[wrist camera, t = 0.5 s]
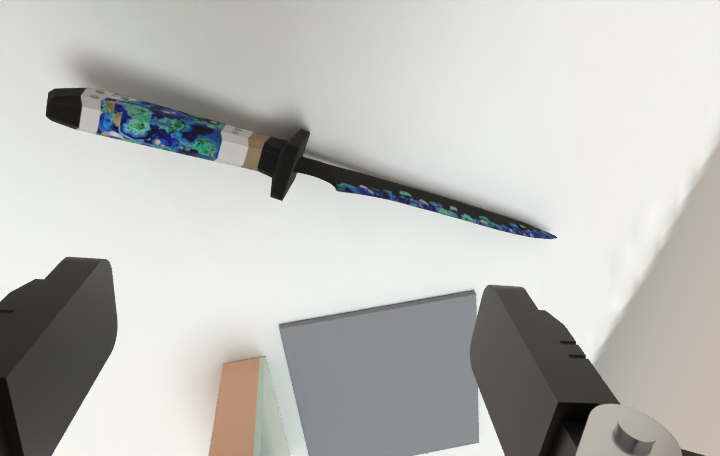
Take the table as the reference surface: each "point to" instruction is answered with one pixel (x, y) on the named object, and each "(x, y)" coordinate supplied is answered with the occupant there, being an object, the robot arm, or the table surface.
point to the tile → (247, 413)
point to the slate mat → (386, 378)
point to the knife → (244, 151)
